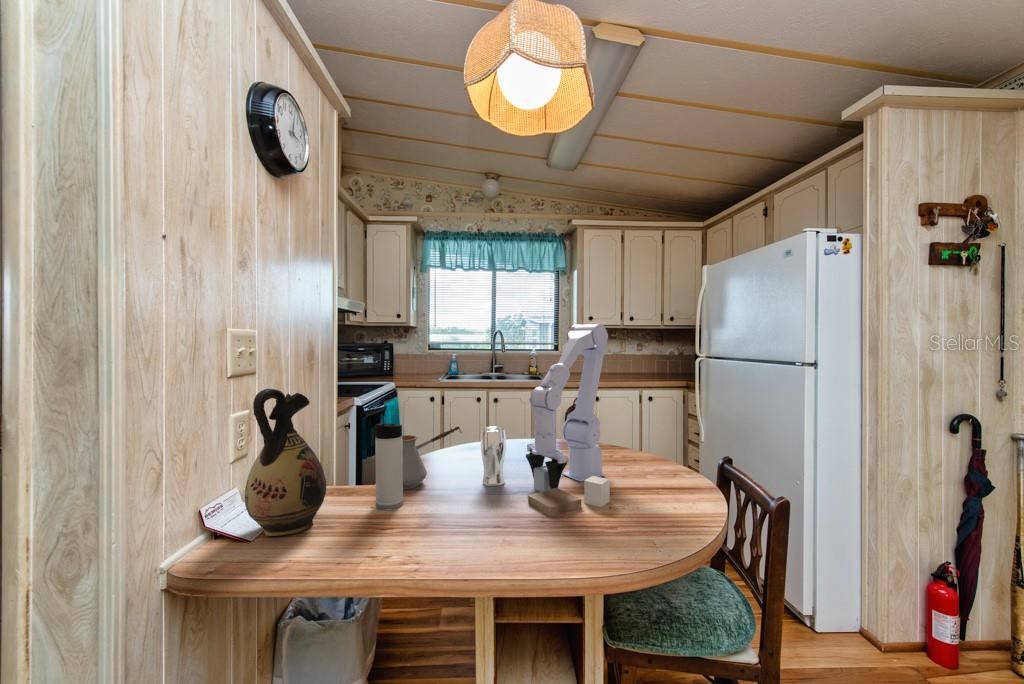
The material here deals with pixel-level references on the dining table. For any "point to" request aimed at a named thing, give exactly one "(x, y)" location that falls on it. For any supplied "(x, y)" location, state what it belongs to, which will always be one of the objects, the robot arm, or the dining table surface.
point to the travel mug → (389, 466)
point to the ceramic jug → (283, 470)
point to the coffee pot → (415, 459)
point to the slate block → (541, 479)
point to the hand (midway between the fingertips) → (545, 483)
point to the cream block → (596, 491)
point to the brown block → (554, 502)
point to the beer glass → (493, 454)
